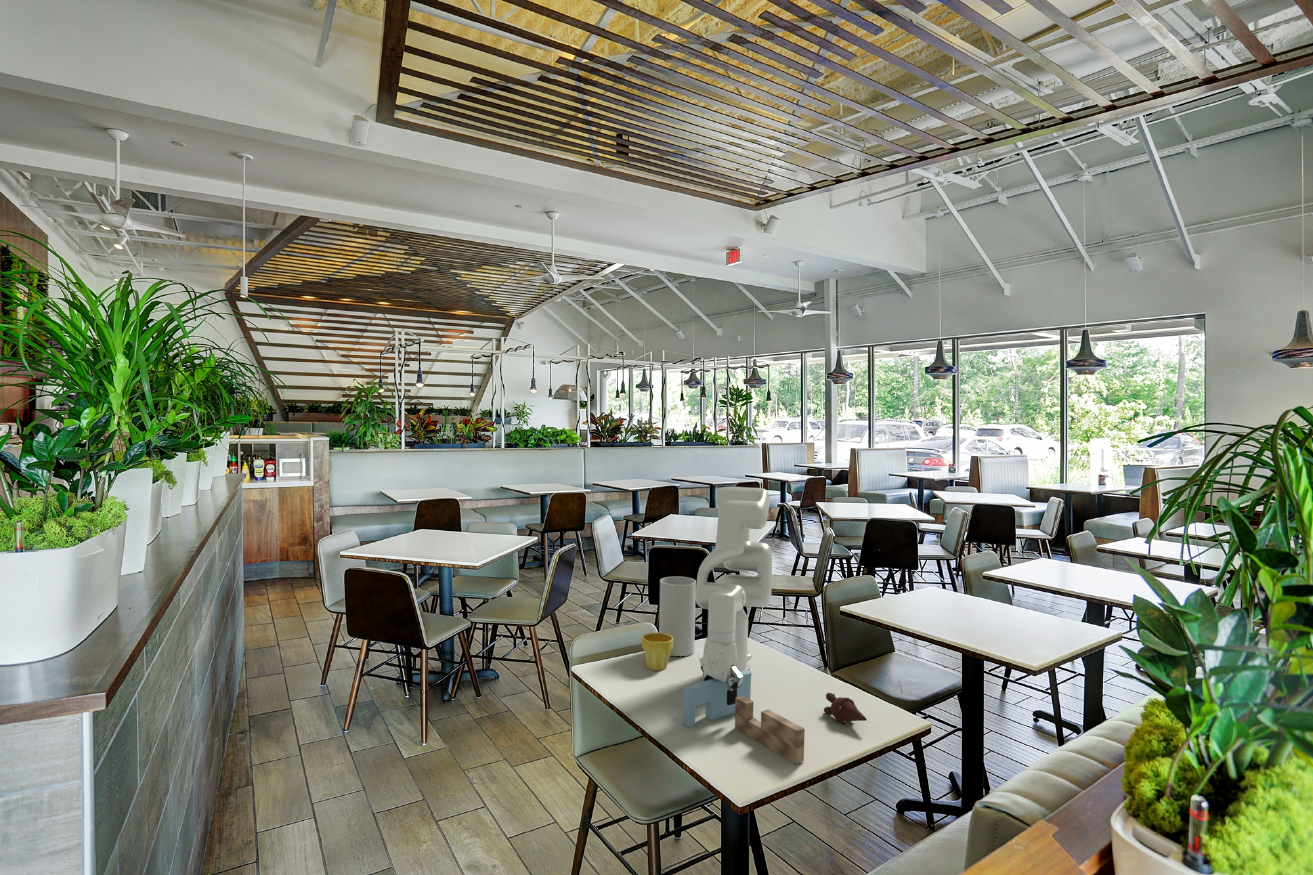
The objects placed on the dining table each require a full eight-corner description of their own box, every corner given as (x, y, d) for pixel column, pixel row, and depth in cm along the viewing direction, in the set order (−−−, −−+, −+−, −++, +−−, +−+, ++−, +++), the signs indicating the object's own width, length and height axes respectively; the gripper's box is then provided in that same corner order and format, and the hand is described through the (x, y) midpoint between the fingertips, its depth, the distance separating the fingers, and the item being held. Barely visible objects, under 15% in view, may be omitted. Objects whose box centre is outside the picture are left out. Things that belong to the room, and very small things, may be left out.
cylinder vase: (671, 642, 237) (673, 574, 237) (700, 650, 230) (702, 580, 230) (651, 652, 227) (653, 581, 227) (681, 660, 220) (683, 587, 219)
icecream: (877, 706, 172) (837, 690, 185) (857, 704, 169) (817, 688, 182) (874, 733, 171) (833, 715, 184) (854, 732, 167) (813, 714, 180)
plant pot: (675, 662, 218) (676, 633, 218) (669, 674, 208) (669, 643, 208) (645, 659, 220) (646, 630, 220) (637, 670, 210) (638, 640, 210)
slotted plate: (744, 704, 186) (745, 670, 186) (750, 707, 184) (751, 672, 184) (682, 723, 174) (683, 686, 173) (688, 727, 172) (689, 689, 171)
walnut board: (734, 727, 172) (735, 697, 172) (741, 725, 173) (742, 695, 173) (796, 764, 154) (797, 731, 154) (803, 761, 155) (804, 728, 155)
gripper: (691, 629, 184) (690, 689, 184) (731, 646, 169) (730, 712, 170) (712, 625, 188) (710, 684, 188) (753, 642, 174) (751, 705, 174)
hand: (719, 697), depth 179 cm, fingers open, 9 cm apart
